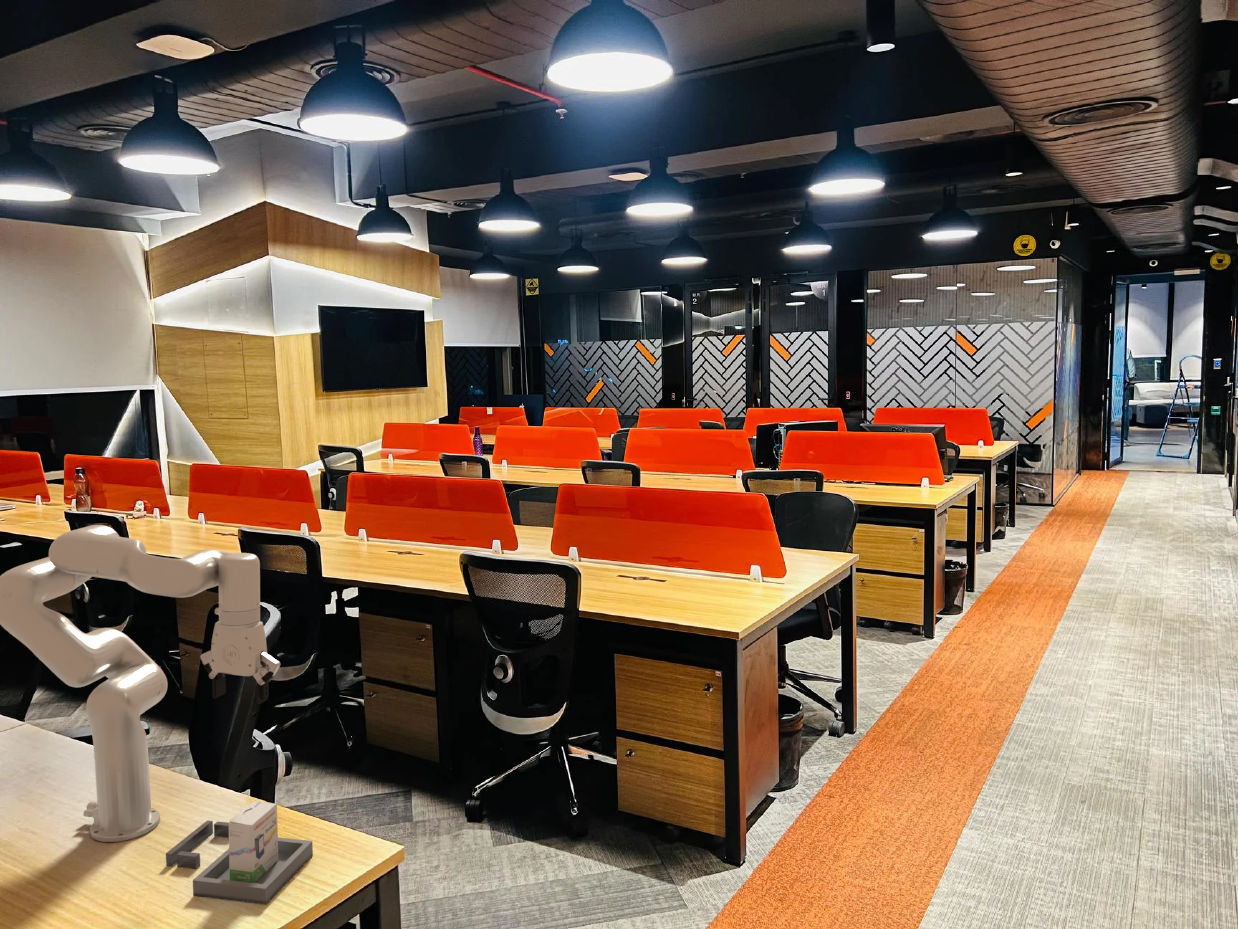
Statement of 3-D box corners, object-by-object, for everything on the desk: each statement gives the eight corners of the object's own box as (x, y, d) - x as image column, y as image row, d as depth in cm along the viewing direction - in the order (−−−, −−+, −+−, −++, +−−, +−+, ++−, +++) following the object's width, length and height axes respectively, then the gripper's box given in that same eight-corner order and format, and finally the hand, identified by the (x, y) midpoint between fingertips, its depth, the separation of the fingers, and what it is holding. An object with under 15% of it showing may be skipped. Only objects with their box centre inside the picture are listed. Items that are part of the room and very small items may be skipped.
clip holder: (166, 866, 170) (165, 853, 170) (207, 832, 182) (207, 820, 182) (196, 869, 169) (195, 856, 168) (235, 835, 181) (235, 823, 181)
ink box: (255, 858, 172) (253, 799, 170) (280, 861, 171) (277, 802, 169) (228, 883, 163) (225, 821, 162) (253, 886, 162) (251, 824, 161)
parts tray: (193, 896, 160) (192, 880, 160) (246, 848, 176) (245, 834, 176) (266, 904, 158) (265, 888, 157) (312, 855, 174) (312, 841, 173)
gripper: (188, 616, 176) (190, 700, 178) (267, 625, 172) (267, 711, 174) (214, 607, 183) (215, 687, 185) (289, 615, 179) (289, 697, 181)
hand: (240, 699), depth 180 cm, fingers open, 9 cm apart
